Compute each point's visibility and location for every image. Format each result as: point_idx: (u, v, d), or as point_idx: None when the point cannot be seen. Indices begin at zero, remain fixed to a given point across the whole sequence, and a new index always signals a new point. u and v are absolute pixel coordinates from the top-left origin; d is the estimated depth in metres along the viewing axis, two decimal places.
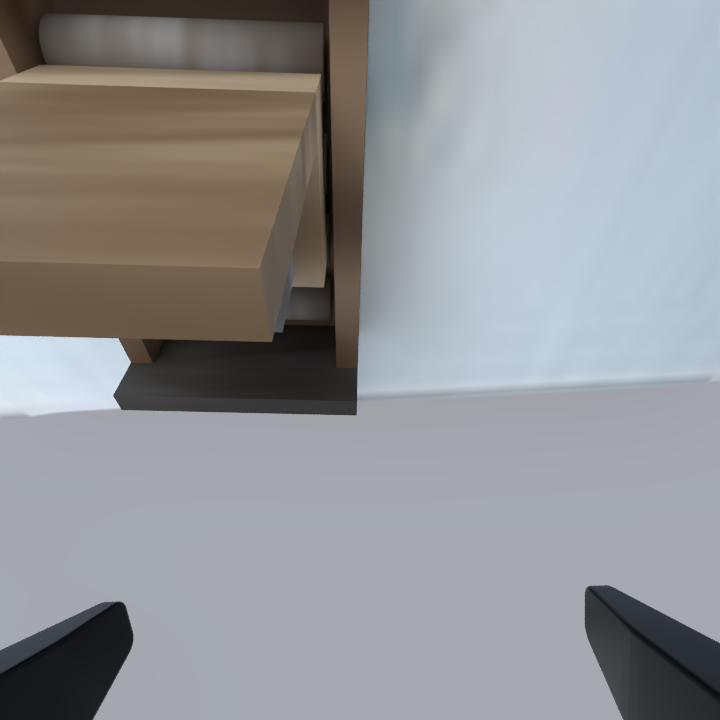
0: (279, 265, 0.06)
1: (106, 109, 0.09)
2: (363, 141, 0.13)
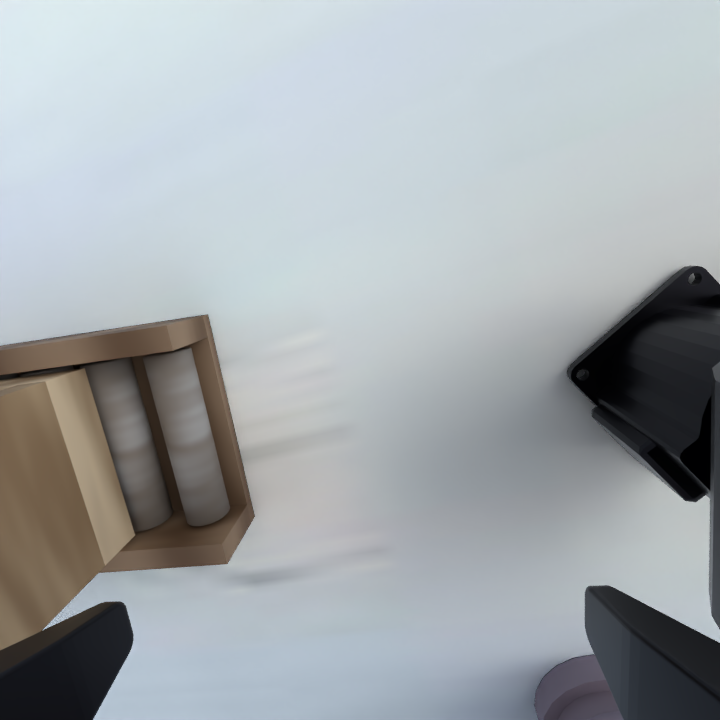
0: None
1: (30, 494, 0.15)
2: (102, 571, 0.19)
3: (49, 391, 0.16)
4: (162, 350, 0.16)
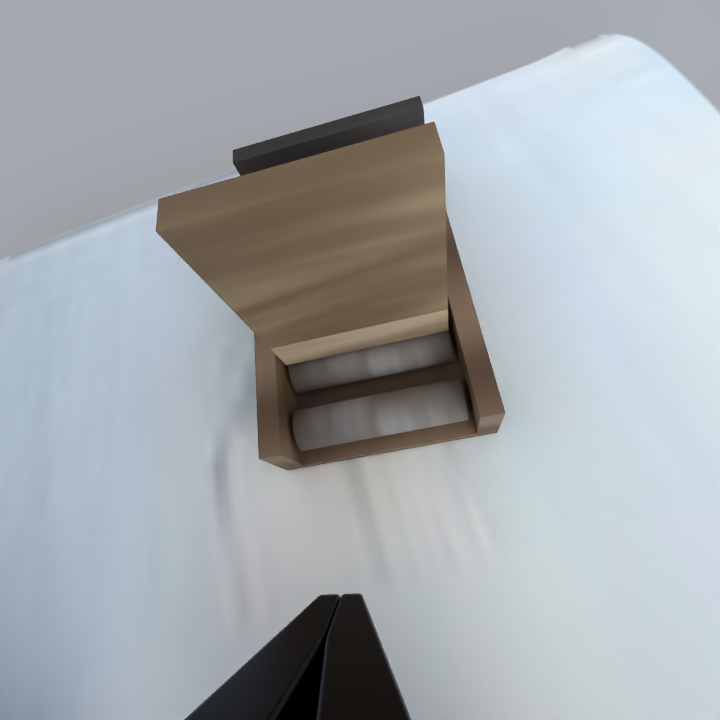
0: None
1: (357, 305, 0.16)
2: (255, 337, 0.21)
3: (438, 311, 0.18)
4: (479, 407, 0.17)
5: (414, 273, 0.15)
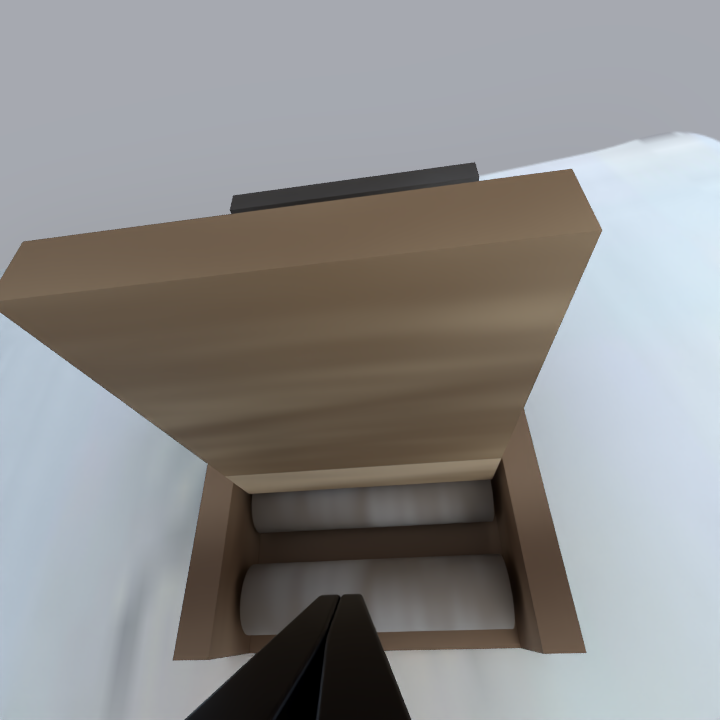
0: None
1: (364, 441, 0.10)
2: None
3: (485, 459, 0.12)
4: (541, 632, 0.10)
5: (467, 413, 0.09)
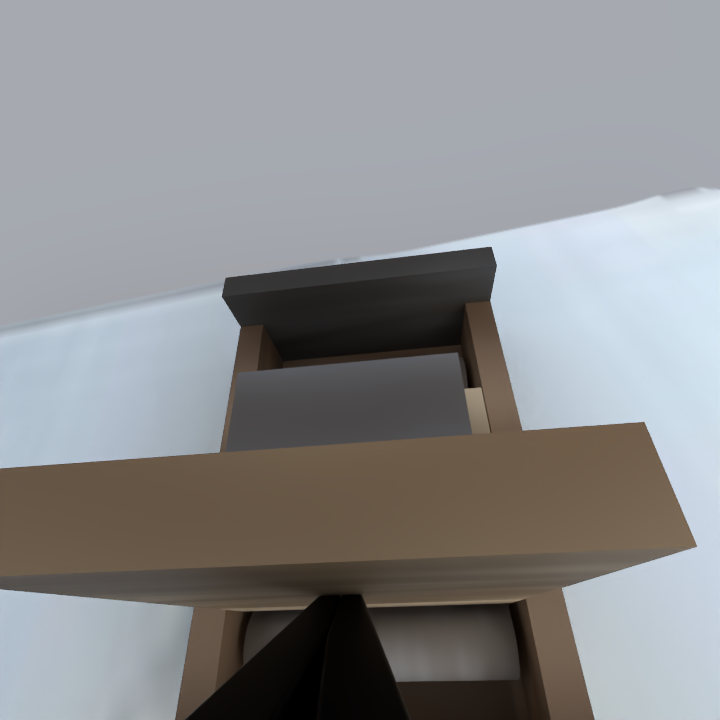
0: None
1: (373, 598, 0.09)
2: None
3: (507, 599, 0.10)
4: None
5: (491, 591, 0.08)
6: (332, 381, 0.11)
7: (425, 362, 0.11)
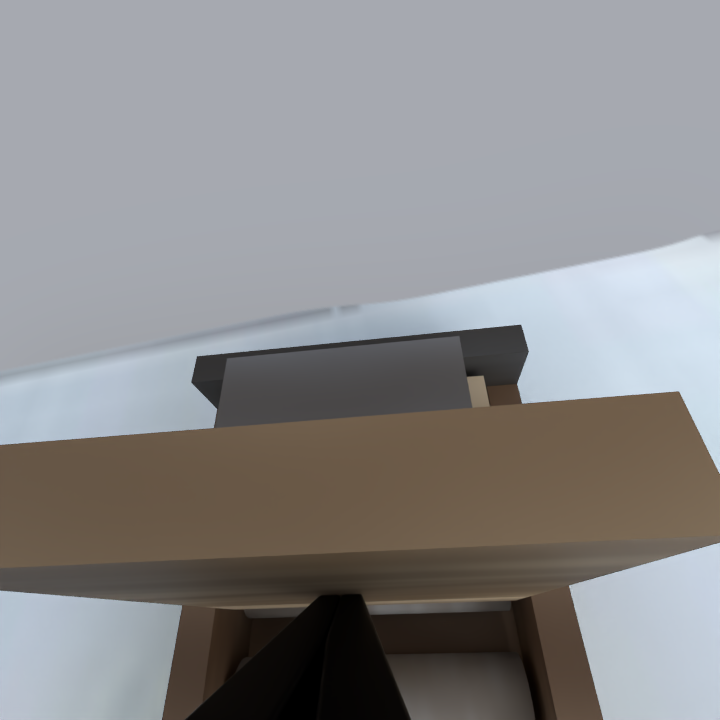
0: None
1: (368, 596, 0.09)
2: None
3: (511, 597, 0.10)
4: None
5: (496, 588, 0.07)
6: (326, 366, 0.10)
7: (425, 346, 0.10)
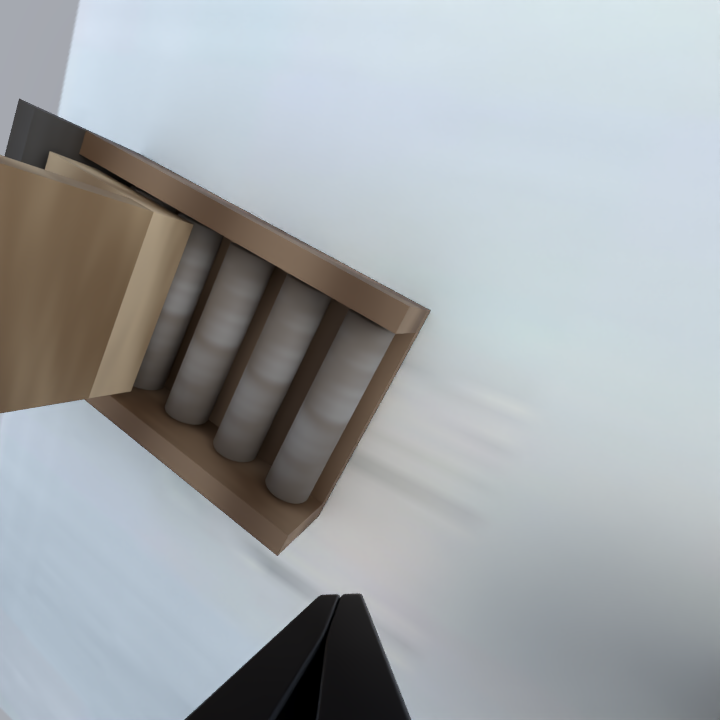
0: None
1: (72, 296, 0.14)
2: (166, 464, 0.17)
3: (150, 222, 0.15)
4: (385, 325, 0.14)
5: (55, 222, 0.12)
6: None
7: None
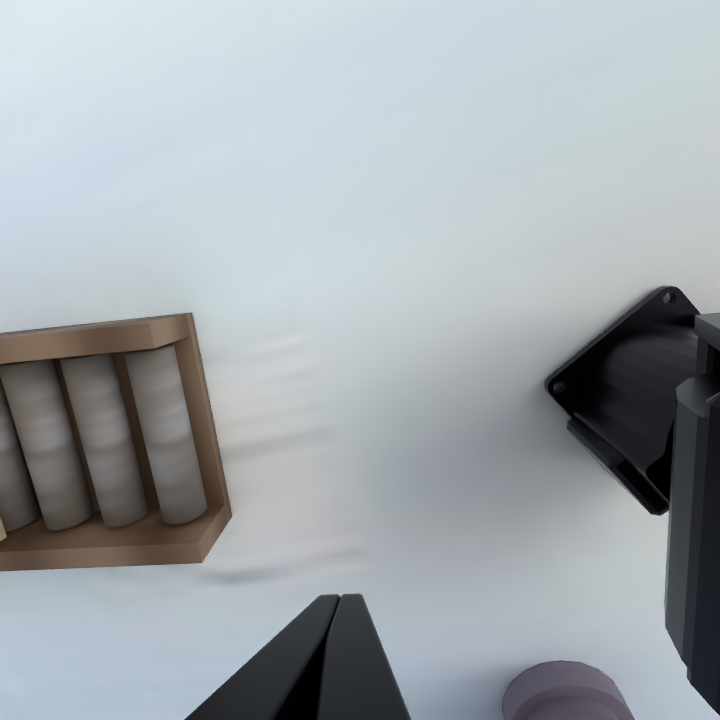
0: None
1: None
2: (74, 567, 0.19)
3: None
4: (143, 347, 0.16)
5: None
6: None
7: None
